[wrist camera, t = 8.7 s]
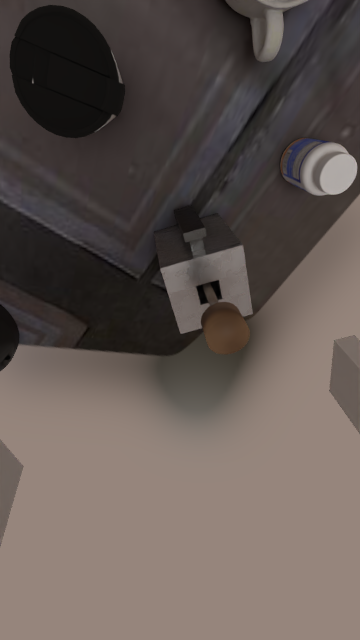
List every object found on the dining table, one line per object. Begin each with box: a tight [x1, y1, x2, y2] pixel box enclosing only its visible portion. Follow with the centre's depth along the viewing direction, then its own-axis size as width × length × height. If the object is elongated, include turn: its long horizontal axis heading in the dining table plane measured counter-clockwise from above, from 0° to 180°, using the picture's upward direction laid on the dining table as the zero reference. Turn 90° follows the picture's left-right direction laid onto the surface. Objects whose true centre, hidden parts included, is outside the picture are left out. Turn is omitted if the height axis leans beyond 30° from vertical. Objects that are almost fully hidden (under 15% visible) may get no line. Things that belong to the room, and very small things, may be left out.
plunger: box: [201, 282, 250, 354], centre depth 37 cm, size 7×7×18 cm
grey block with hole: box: [154, 205, 253, 334], centre depth 41 cm, size 9×11×12 cm
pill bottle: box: [280, 138, 357, 196], centre depth 37 cm, size 5×5×10 cm
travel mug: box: [10, 5, 125, 138], centre depth 26 cm, size 6×7×20 cm
